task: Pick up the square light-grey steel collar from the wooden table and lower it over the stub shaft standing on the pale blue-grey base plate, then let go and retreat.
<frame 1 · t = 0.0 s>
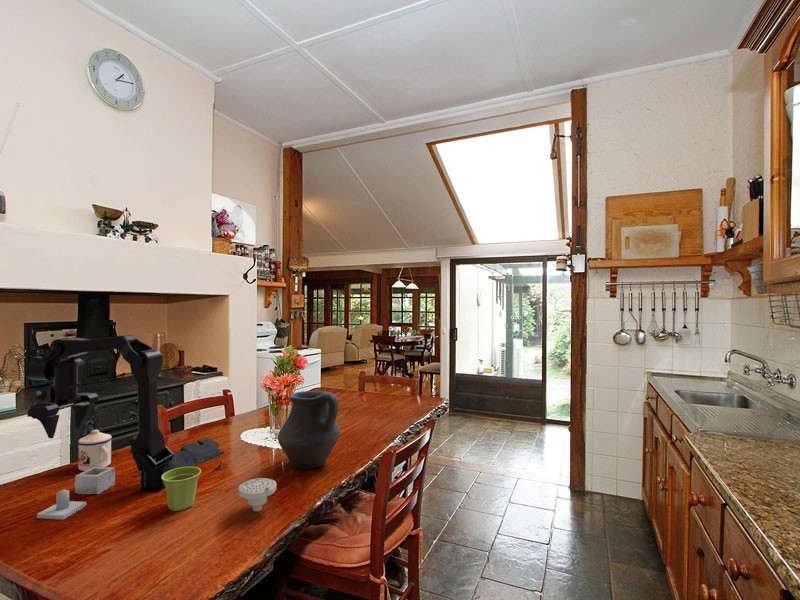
hand: (64, 433, 125), 15 cm above the table, tool pointing down, fingers open, 9 cm apart
plant pot: (181, 506, 112), on the table
shaft base: (62, 511, 108), on the table
dark slate chunk: (188, 460, 145), on the table
pitcher: (311, 464, 142), on the table
teacup with lid: (96, 467, 137), on the table
collar: (95, 489, 121), on the table
showerhead: (258, 510, 111), on the table
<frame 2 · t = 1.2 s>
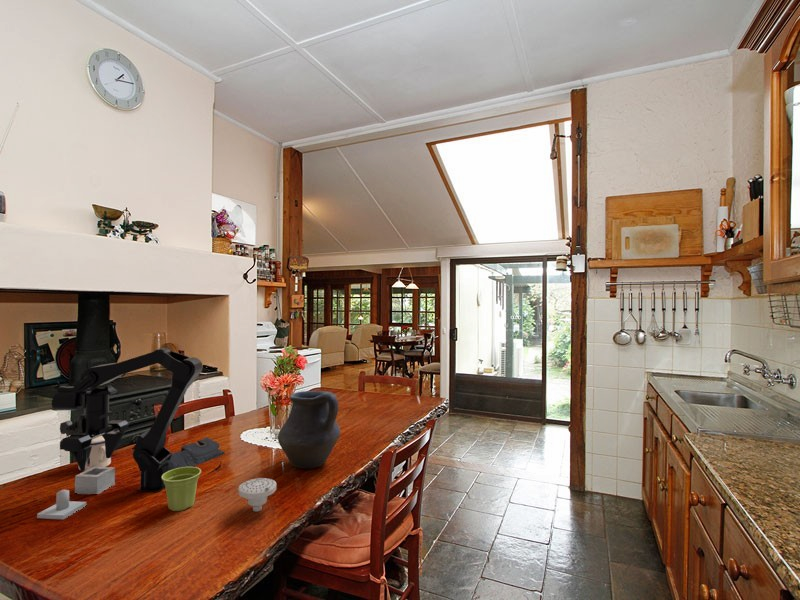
hand: (96, 463, 121), 7 cm above the table, tool pointing down, fingers open, 9 cm apart
nothing on the table moved.
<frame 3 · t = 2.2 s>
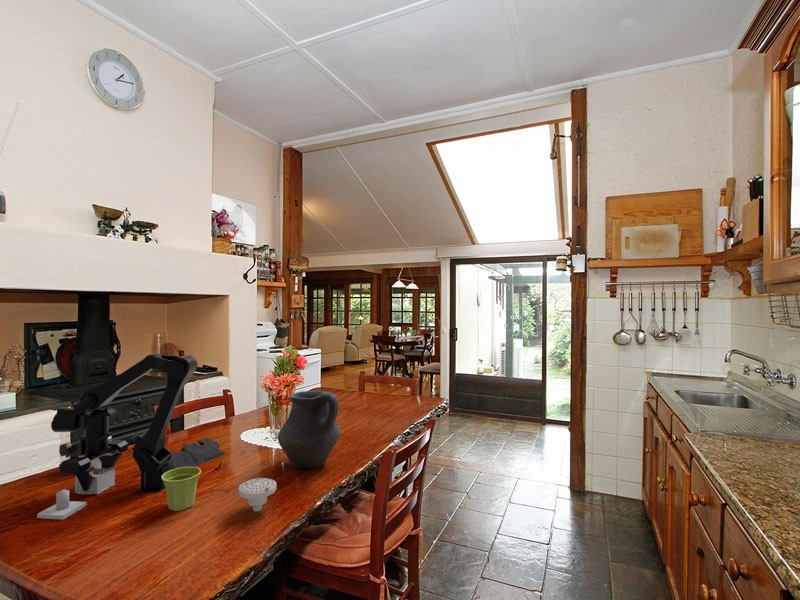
hand: (95, 485, 121), 1 cm above the table, tool pointing down, fingers closed on collar, 7 cm apart
collar: (95, 489, 121), on the table, touching gripper
everything else where it was.
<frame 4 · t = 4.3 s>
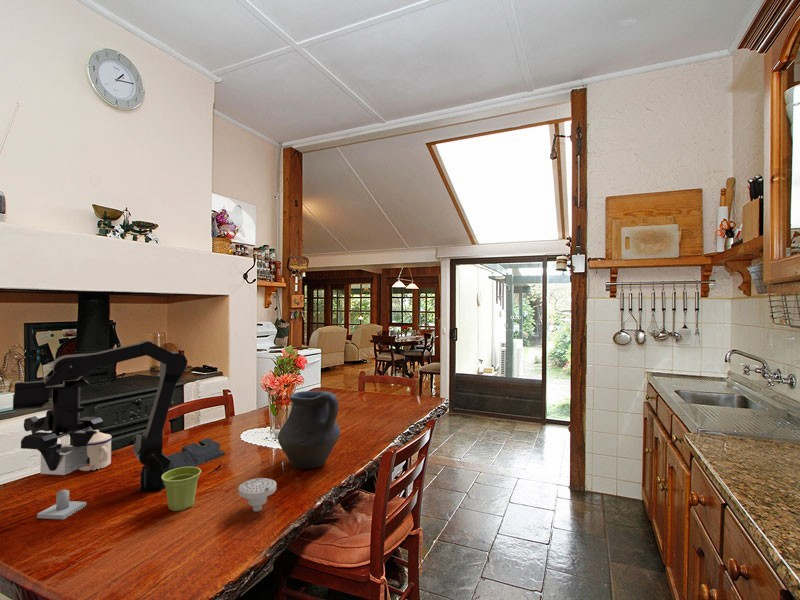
hand: (64, 465, 109), 12 cm above the table, tool pointing down, fingers closed on collar, 7 cm apart
collar: (64, 469, 109), point 11 cm above the table, touching gripper
everything else where it was.
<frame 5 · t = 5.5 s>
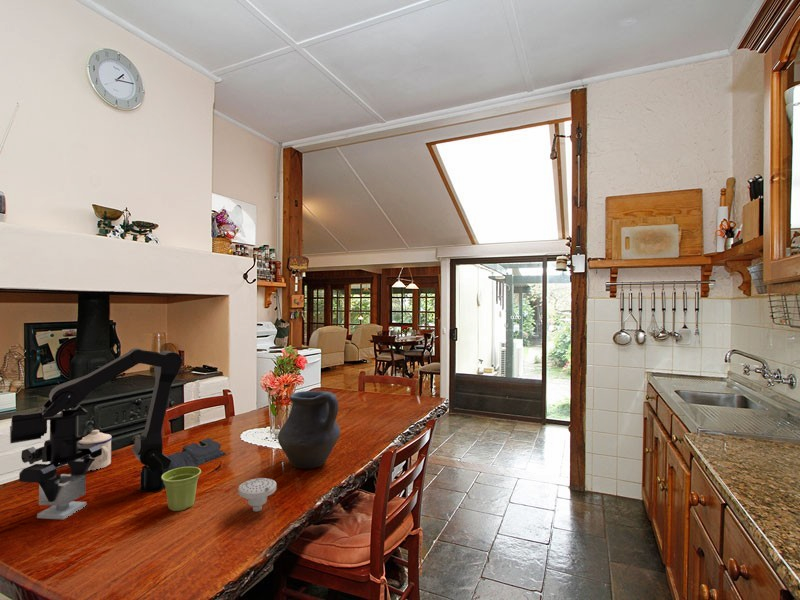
hand: (63, 495, 108), 4 cm above the table, tool pointing down, fingers closed on collar, 7 cm apart
collar: (62, 499, 108), point 3 cm above the table, touching gripper
when the fingers open (3 cm above the table, at t = 6.3 s): collar stays where it is, resting on shaft base.
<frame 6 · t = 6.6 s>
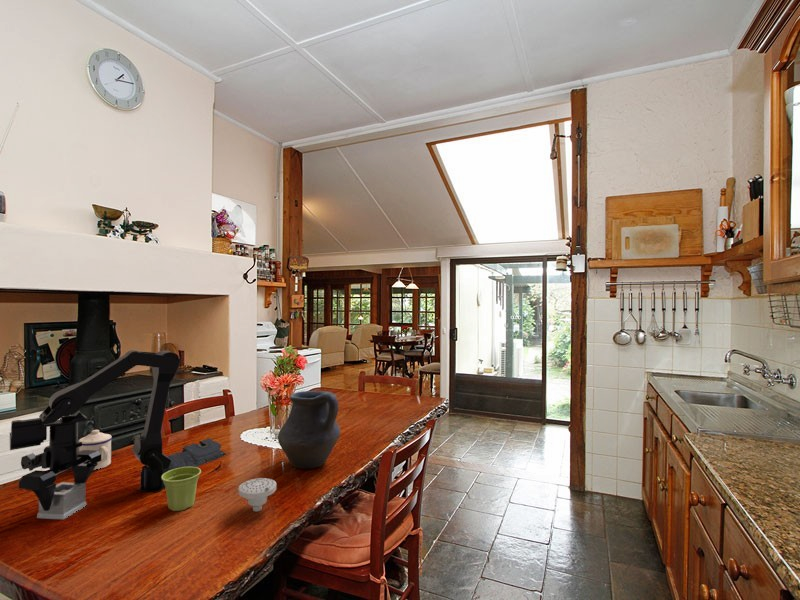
hand: (62, 501, 108), 3 cm above the table, tool pointing down, fingers open, 9 cm apart
collar: (62, 507, 108), point 1 cm above the table, touching shaft base
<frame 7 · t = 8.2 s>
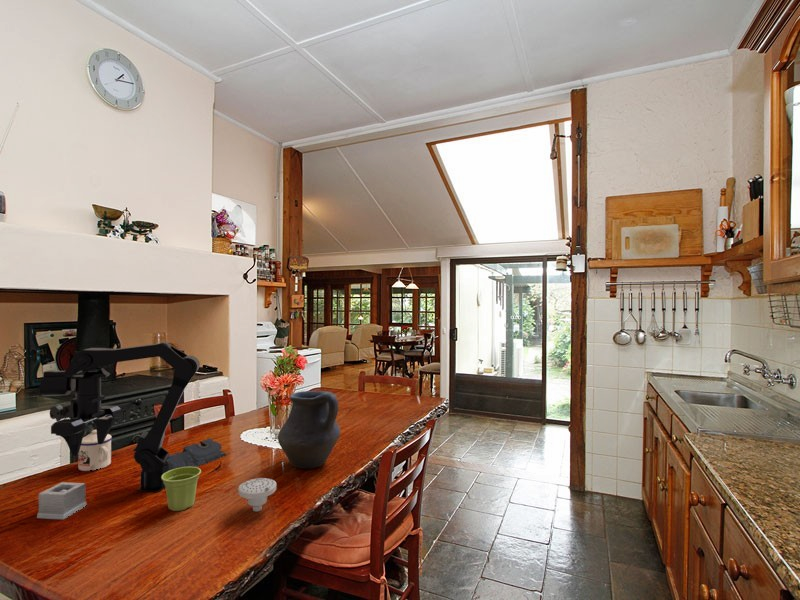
hand: (88, 449, 118), 13 cm above the table, tool pointing down, fingers open, 9 cm apart
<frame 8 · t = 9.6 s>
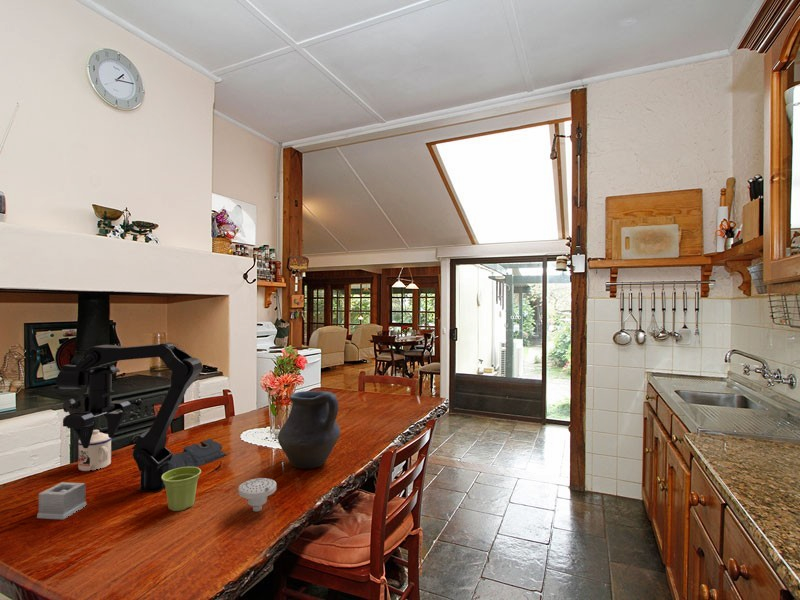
hand: (98, 442, 122), 13 cm above the table, tool pointing down, fingers open, 9 cm apart
at the end: collar 0.1 cm off-centre on the shaft base, point 1.0 cm above the shaft base's base; collar tilted 0°; the gripper is holding nothing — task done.
